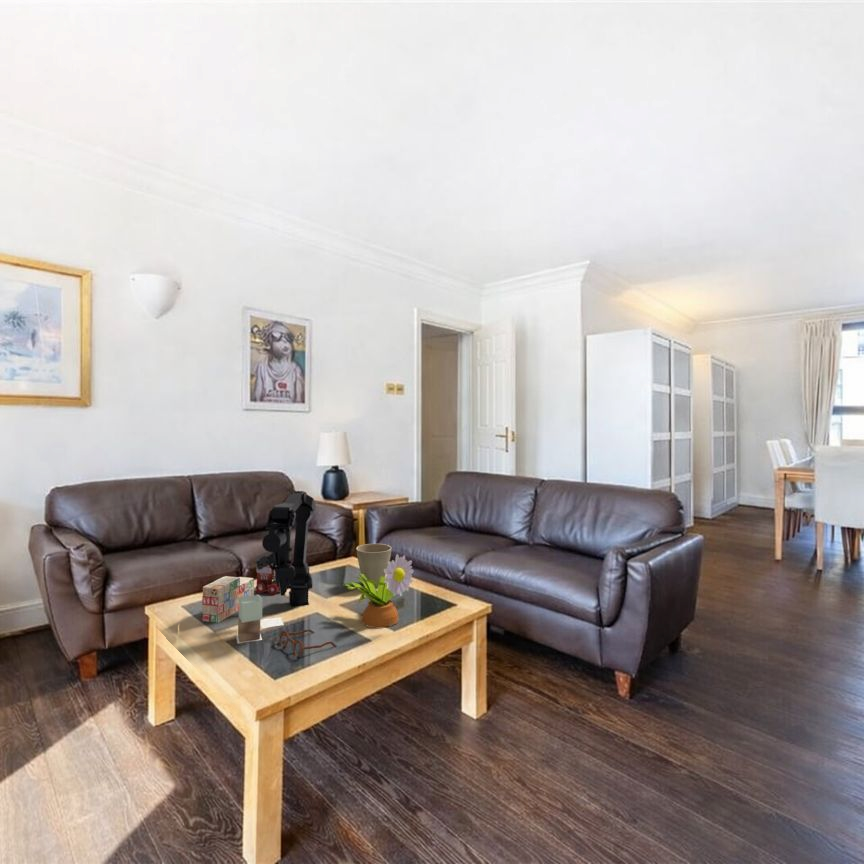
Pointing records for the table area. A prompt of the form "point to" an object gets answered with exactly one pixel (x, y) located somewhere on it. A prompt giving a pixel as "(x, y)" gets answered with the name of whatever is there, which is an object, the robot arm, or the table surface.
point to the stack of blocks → (224, 597)
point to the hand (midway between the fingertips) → (280, 590)
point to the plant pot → (373, 560)
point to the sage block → (250, 608)
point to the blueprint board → (265, 624)
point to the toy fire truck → (266, 581)
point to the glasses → (300, 641)
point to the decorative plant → (384, 593)
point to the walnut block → (248, 630)
